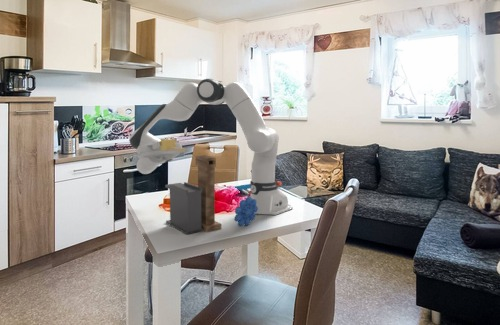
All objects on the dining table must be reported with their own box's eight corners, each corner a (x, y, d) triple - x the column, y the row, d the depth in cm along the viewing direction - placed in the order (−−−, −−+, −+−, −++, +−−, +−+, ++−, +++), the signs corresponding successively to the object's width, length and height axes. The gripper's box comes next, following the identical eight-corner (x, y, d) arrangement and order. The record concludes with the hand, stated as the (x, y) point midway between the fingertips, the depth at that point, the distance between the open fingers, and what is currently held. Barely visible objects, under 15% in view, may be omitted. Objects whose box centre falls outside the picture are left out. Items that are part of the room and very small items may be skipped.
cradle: (181, 220, 157) (180, 180, 154) (202, 230, 143) (202, 187, 141) (165, 223, 152) (165, 182, 150) (186, 234, 139) (186, 190, 136)
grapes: (250, 220, 158) (251, 193, 156) (260, 224, 152) (261, 196, 151) (228, 225, 151) (228, 197, 149) (238, 229, 145) (238, 200, 143)
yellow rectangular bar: (170, 149, 160) (169, 139, 159) (189, 151, 146) (189, 140, 146) (160, 149, 157) (160, 139, 156) (179, 152, 144) (179, 141, 143)
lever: (231, 199, 213) (248, 197, 198) (229, 187, 213) (246, 184, 199) (241, 197, 217) (259, 195, 202) (239, 185, 217) (257, 182, 202)
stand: (205, 221, 156) (204, 154, 151) (221, 228, 146) (221, 157, 142) (190, 224, 151) (190, 155, 147) (206, 232, 142) (206, 159, 138)
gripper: (131, 150, 162) (141, 137, 151) (173, 147, 174) (185, 135, 164) (134, 163, 160) (144, 150, 150) (176, 160, 173) (188, 148, 163)
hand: (166, 142), depth 157 cm, fingers closed on yellow rectangular bar, 4 cm apart
